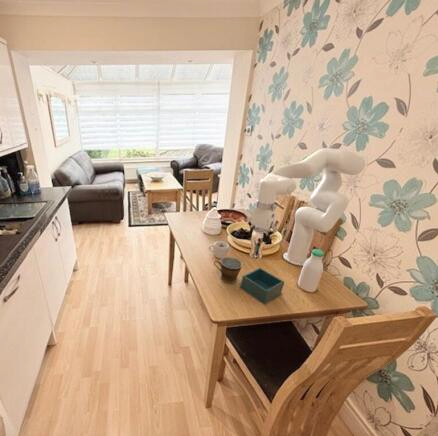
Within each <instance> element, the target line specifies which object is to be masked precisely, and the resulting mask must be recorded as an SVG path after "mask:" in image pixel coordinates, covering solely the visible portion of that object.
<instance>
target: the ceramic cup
mask: <svg viewBox="0 0 438 436" xmlns="http://www.w3.org/2000/svg"><path fill="white" fill-rule="evenodd" d="M216 263H217V264H219V266H220V267H219V266H218V265H216ZM213 265H214V266H215V267H216V268H217V269H218V270H219V271H220V273H221V280H222V281H223V282H224V283H226V284H234V283H236V282H237V278H238V276H239V274H240V272H241V270H242V267H243V262H242V261H241V260H239V259H237V258H236V257H231V256H226V257H225V258H222V259H220V261H219V260H215V261H214V262H213Z"/></svg>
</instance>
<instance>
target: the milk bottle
mask: <svg viewBox="0 0 438 436" xmlns="http://www.w3.org/2000/svg"><path fill="white" fill-rule="evenodd" d="M310 253H311V254H310V256H309V257H308V258H307V259H308V260H307V261H306V262H305V263H304V265H303V266H302V268H301V271H300V274H299V277H298V280H297V287H298V288H299V289H301V290H303V291H305V292H308V293H314V292H316V291H317V290H318V287H319V284H320V281H321V278H322V275H323V272H324V264H323V258H324V256H325V251H323V250H321V249H317V248H313V249H312V250H311V252H310Z"/></svg>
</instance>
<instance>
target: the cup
mask: <svg viewBox="0 0 438 436" xmlns="http://www.w3.org/2000/svg"><path fill="white" fill-rule="evenodd" d="M211 247H212V248H213V249H211ZM229 248H230V245H229V244H228V242H225V241H221V240H218V241H215V242H214V243H211V244H209V245H208V250H209V252H211V253H213V254H214V257H215V258H217V259H220V260H221V259H222V258H225V257H227V254H228V252H229Z"/></svg>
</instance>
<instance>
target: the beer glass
mask: <svg viewBox="0 0 438 436" xmlns="http://www.w3.org/2000/svg"><path fill="white" fill-rule="evenodd" d="M265 235H266V233H265V230H264V229H261V228H259V227H257V226H255V227H254V228H253V231H252V235H251V236H250V251H249V253H248V256H249V257H250V258H252V259H254V260H260V259H262V258H263V250H264V247H265V245H266V243H267V242H265V243H264V242H263V240H264V236H265Z"/></svg>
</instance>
